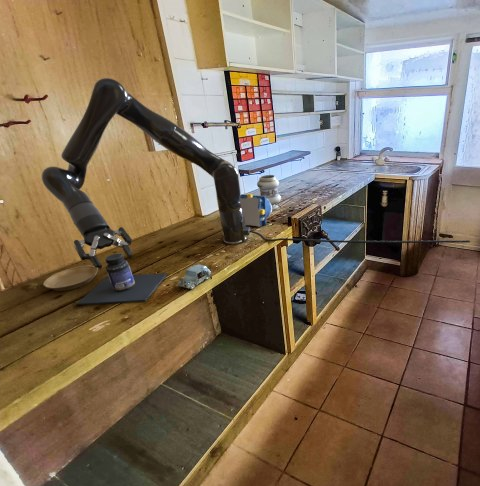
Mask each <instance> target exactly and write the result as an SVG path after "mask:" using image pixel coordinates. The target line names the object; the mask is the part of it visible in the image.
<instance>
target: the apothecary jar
mask: <svg viewBox="0 0 480 486" xmlns="http://www.w3.org/2000/svg"><path fill="white" fill-rule="evenodd" d="M258 178H259V180H258V181H257V183H256V186H257V188H258V189H259V194H260V195H259V196H265V197H266V198H267V199H268V201H269V202H270V204H271V205H272V212H274V211H278V210H280V208H281V207H280V206H279V205H277V204H278V203H280V201H281V200H282V196H281V195H280V194H279V191H278V190H279V189H278V187H279V185H280V181H279V180H278V179H277V178H276V175H274V174H264V175H261V176H259V177H258Z"/></svg>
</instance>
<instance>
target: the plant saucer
mask: <svg viewBox="0 0 480 486" xmlns="http://www.w3.org/2000/svg"><path fill="white" fill-rule="evenodd" d="M98 271H99V268H96V267H94V265H82V266H81V265H80V266H74V267H71V268H67V269H64V270H61V271H59V272H56V273H54V274H52V275H51V276H48V278H46V279H44V281H43V283H42V284H43V287H45V288H47V289H50V290H54V291H59V292H65V291H70V290H76V289H78V288H81V287H83V286H86V285H88V283H90V282H91V281H93V279H94V278H95V277H96V275H97V273H98Z"/></svg>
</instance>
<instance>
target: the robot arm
mask: <svg viewBox="0 0 480 486" xmlns="http://www.w3.org/2000/svg"><path fill="white" fill-rule="evenodd" d="M115 115H117V116H119V117H121V118H123V119H124V120H126V121H129V123H132V124H133V125H135V127H137V128H138V129H140V130H141V131H142V132H143V133H145V134H146V135H147V136H148V137H149V138H151V139H152V140H153V141H154V142H156V143H158V144H159V145H160V146H161V147H163V148H165V149H166V150H167V151H169V152H170V153H172V154H174V155H176V156H177V157H179V158H181V159H183V160H186V161H187V162H190V163H192V164H194V165H196V166H197V167H199V168H200V169H202V170H203V171H205V172H206V173H207V174H208V175H209V176H211V177H212V178H213V182H214V188H215V194H216V202H217V208H218V213H219V219H220V225H221V234H222V236H223V243H224V244H227V245H237V244H241V243H245V242H246V240H247V239H248V236H250V234H254V235H257V236H259V237H260V238H261V239H262V240H264V241H265V242H278V241H292V242H312V243H313V242H314V243H315V242H317V243H341V244H342V243H345V244H346V243H347V244H349V243H350V244H438V243H439V244H442V243H443V244H445V243H446V244H448V243H451V244H452V243H454V244H456V243H465V244H466V243H469V244H470V243H471V240H470V239H469V240H468V239H467V240H465V239H464V240H463V239H461V240H460V239H459V240H457V239H455V240H446V239H445V240H442V239H441V240H343V239H342V240H341V239H340V240H339V239H313V238H289V237H287V238H285V237H281V238H266V237H264V235H262V233H259V232H257V231H254V230H252V229H251V226H247V225H245V218H244V217H243V213H242V206H241V198H240V195H241V186H240V177H239V173H238V170H237V168H236V167H235V166H234V164H232V163H231V162H229V161H228V160H226V159H224V158H221V156H219V155H217V154H215V153H213V152H212V151H210V150H209V149H207V148H206V147H205V146H204V145H203V144H202V143H201V142H200V141H198V140H197V138H195V137H193V135H191V134H190V133H189V132H187V131H186V130H185V129H184V128H182V127H180V126H179V125H177V124H176V123H175V122H173V121H171V120H170V119H168V118H167V117H165V116H163V115H161V114H159V113H158V112H156V111H153V110H152V109H150V108H149V107H147V106H145V105H144V104H143V103H142V102H140V101H139V100H138V99H137V98H135V97H134V96H133V95H132V94H131V93H129V92H128V91H127V90H126V88H125V86H124V85H123V84H122V83H120V82H119V81H118V80H116V79H114V78H109V77H103V78H100V79H98V80H97V81H96V82H95V83H94V84H93V88H92V92H91V96H90V98H89V102H88V103H87V107H86V109H85V112H84V114H83V116H82V118H81V120H80V121H79V123H78V125H77V126H76V128H75V130H74V132H73V133H72V135H71V137H70V138H69V140H68V142H67V143H66V144H65V146H64V149H63V150H62V151H61V155H60V157H61V159H62V160H63V161H64V162H66V163H67V164H68V167H67V169H66V168H61V167H59V166H48V167H46V168H44V169H43V170H42V173H41V182H42V184H43V185H44V187H45V188H46V189H47V190H48V191H49V192H50V193H51V194H52V195H53V196H54V197H55V198H56V199H57V200H58V201H59V202H61V203H62V205H63V206H64V209H65V210H66V211H67V213H68V215H69V216H70V219H71V221H72V222H73V225H74V226H75V227H76V228H77V230H78V232H79V233H80V235H81V236H82V238H83V239H82V240H79V239H74V241H73V247H74V248H75V251H76V253H77V255H78V257H79V258H80V260H81V261H86V260H90V262H91V264H92V266H94V267H96V268H98V270H101V269H102V268H103V265H102V263H101V261H100V260H99V258H98V257H97V255H96V253H97V250H104V249H105V248H109V247H112V246H114V247H117V248H121V249H122V251H123V252H124V254H125V255H126V257H127V259H131V258H132V256H133V251H132V249H131V248H130V246H131V245H132V242H133V239H132V237H130V235H129V233H128V232H127V230H126V229H124V227H122V226H120V227H118V228H117V229H115V230H113V229H111V227H110V225H109V224H108V222H107V221H106V218H104V216H103V214H102V213H101V212H100V210H99V208H98V207H96V205H95V204H94V203H93V201H92V199H91V197H89V195H88V194H87V193H86V192H85V191H83V190H81V189H82V188H83V186H84V184H85V180H86V176H87V171H88V165H89V163H90V161H91V160H92V158H93V156H94V155H95V153H96V151H97V149H98V147H99V145H100V142H101V140H102V138H103V135H104V133H105V130H106V129H107V127H108V125H109V123H110V122H111V120H112V119H113V118H114V116H115ZM116 235H117V236H118V237H117V236H116ZM119 237H121V238H122V239H120V238H119ZM84 245H87V246H90V249H89V253H86V252H85V250H84V248H85V247H84Z"/></svg>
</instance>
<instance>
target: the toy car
mask: <svg viewBox="0 0 480 486" xmlns="http://www.w3.org/2000/svg"><path fill="white" fill-rule="evenodd" d="M211 274H212V271H211V270H210V269H209V268H208V267H207V266H206V265H203V264H199V263H198V264H195V265H192V266H190V267H188V268H187V269H186V270H185V275H184V276H183V277H182V279H180V280H178V283H177V286H179V287H182V288H186V289H190V290H193V289H195V287H196V286H198V285H200V284H201V283H202V282H204V281H205V280H209V279H210V275H211Z"/></svg>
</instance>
